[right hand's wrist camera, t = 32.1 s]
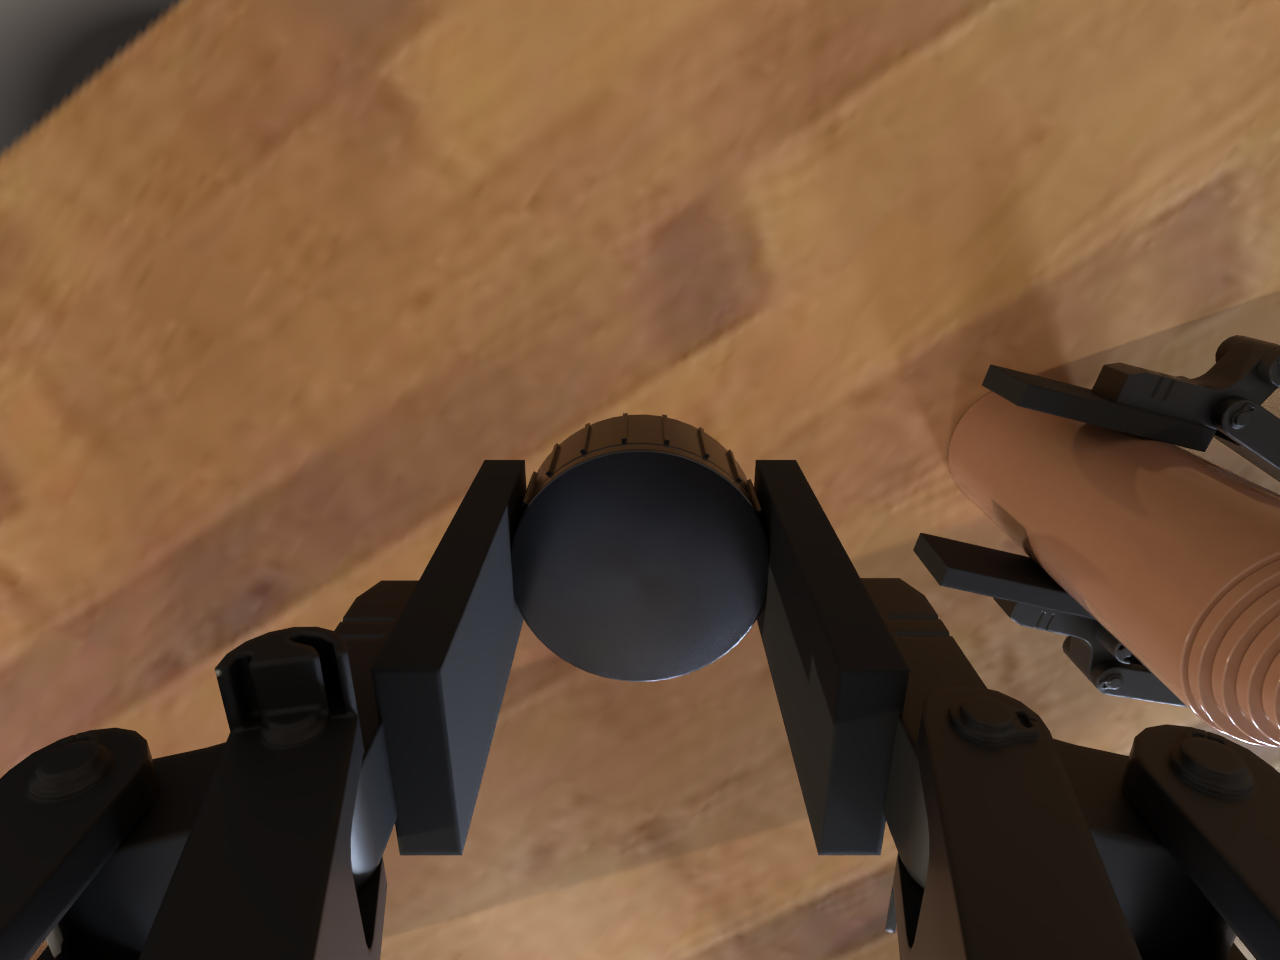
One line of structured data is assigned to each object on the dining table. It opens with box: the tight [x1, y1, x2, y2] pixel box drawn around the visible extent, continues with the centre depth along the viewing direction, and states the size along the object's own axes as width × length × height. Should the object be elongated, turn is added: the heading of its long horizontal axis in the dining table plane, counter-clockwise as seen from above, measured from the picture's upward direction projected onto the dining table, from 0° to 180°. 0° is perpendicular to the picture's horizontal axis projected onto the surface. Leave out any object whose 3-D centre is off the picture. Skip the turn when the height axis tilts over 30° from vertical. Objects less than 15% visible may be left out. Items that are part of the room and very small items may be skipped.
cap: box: [511, 413, 770, 682], centre depth 14 cm, size 4×4×2 cm
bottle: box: [948, 391, 1280, 747], centre depth 24 cm, size 6×6×20 cm
